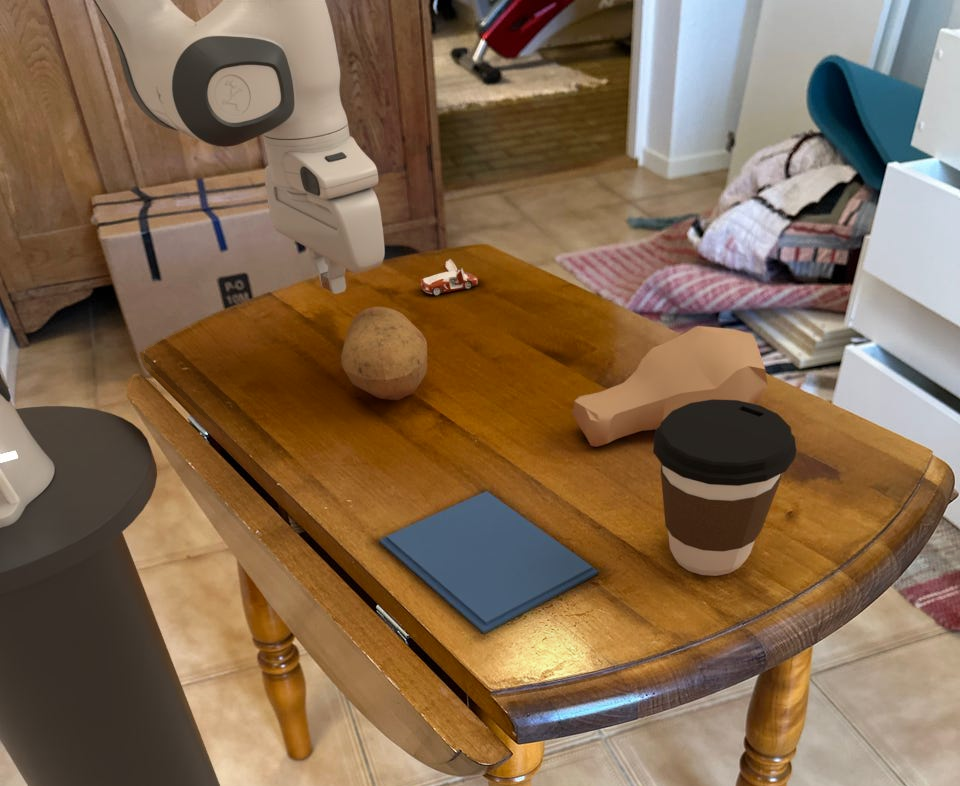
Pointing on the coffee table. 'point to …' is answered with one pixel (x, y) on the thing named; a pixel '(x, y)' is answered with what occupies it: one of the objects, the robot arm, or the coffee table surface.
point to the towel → (487, 560)
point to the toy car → (448, 280)
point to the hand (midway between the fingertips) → (333, 289)
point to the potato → (384, 353)
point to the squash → (675, 383)
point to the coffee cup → (719, 479)
